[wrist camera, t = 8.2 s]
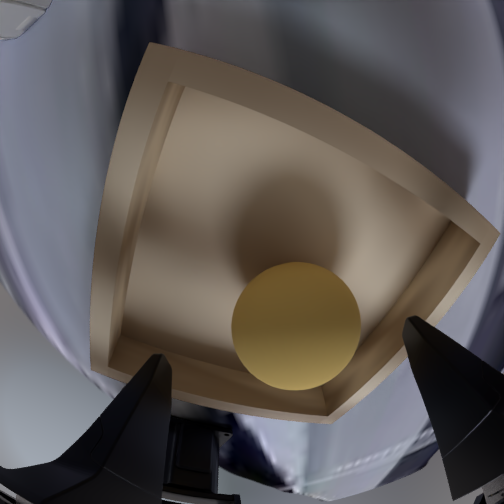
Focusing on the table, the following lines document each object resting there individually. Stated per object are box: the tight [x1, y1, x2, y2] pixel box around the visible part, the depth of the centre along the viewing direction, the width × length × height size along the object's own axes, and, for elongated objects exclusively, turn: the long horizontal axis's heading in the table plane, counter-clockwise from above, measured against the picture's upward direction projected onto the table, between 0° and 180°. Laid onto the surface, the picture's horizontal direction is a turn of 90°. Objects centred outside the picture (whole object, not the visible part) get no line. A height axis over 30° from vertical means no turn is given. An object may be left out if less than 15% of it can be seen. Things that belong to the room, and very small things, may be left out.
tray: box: [90, 42, 500, 424], centre depth 12 cm, size 15×15×3 cm
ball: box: [231, 262, 361, 390], centre depth 11 cm, size 5×5×5 cm
